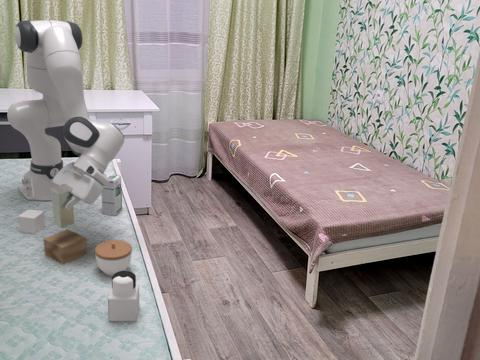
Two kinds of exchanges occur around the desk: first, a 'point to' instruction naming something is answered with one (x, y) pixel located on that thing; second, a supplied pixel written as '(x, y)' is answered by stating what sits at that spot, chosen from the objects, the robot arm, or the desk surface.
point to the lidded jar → (113, 256)
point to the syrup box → (112, 195)
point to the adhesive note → (31, 221)
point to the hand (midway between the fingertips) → (61, 205)
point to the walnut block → (65, 246)
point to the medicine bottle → (123, 297)
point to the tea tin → (59, 199)
